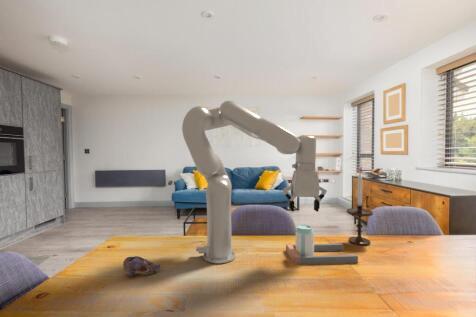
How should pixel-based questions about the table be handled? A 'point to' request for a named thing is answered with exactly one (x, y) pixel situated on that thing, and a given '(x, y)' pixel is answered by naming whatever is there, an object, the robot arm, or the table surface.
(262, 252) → the table surface
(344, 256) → the track
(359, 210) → the candlestick
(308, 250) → the can
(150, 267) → the skull
